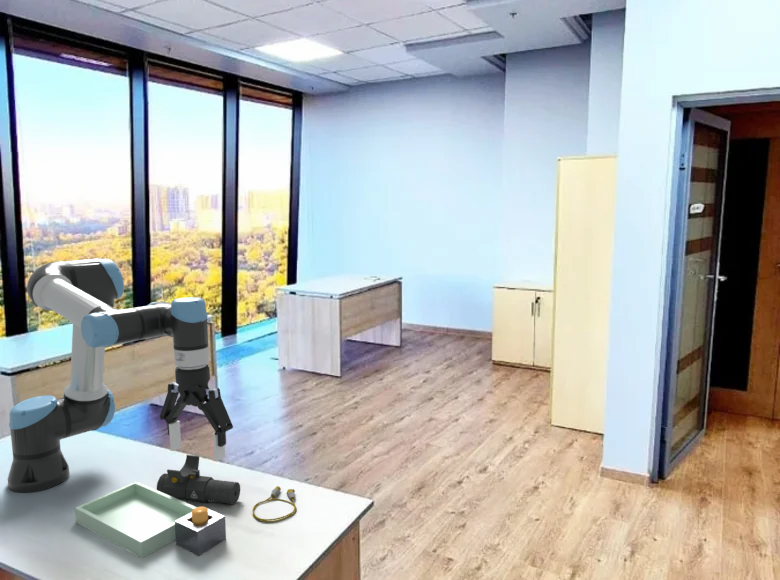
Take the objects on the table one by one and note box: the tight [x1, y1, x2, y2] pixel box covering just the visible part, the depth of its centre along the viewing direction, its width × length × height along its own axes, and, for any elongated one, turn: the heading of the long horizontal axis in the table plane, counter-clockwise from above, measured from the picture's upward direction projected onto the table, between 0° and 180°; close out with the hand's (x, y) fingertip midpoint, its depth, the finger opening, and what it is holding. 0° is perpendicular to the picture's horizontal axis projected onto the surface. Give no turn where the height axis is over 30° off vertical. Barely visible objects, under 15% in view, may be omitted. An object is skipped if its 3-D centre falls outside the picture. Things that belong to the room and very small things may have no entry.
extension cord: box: [252, 485, 298, 523], centre depth 156 cm, size 12×16×2 cm
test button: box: [192, 506, 209, 526], centre depth 139 cm, size 4×4×5 cm
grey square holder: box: [175, 506, 227, 557], centre depth 139 cm, size 8×8×6 cm
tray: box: [74, 481, 198, 559], centre depth 147 cm, size 27×17×4 cm, turn 57°
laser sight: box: [156, 454, 241, 505], centre depth 159 cm, size 10×22×10 cm, turn 78°
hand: (197, 453), depth 138 cm, fingers open, 13 cm apart
